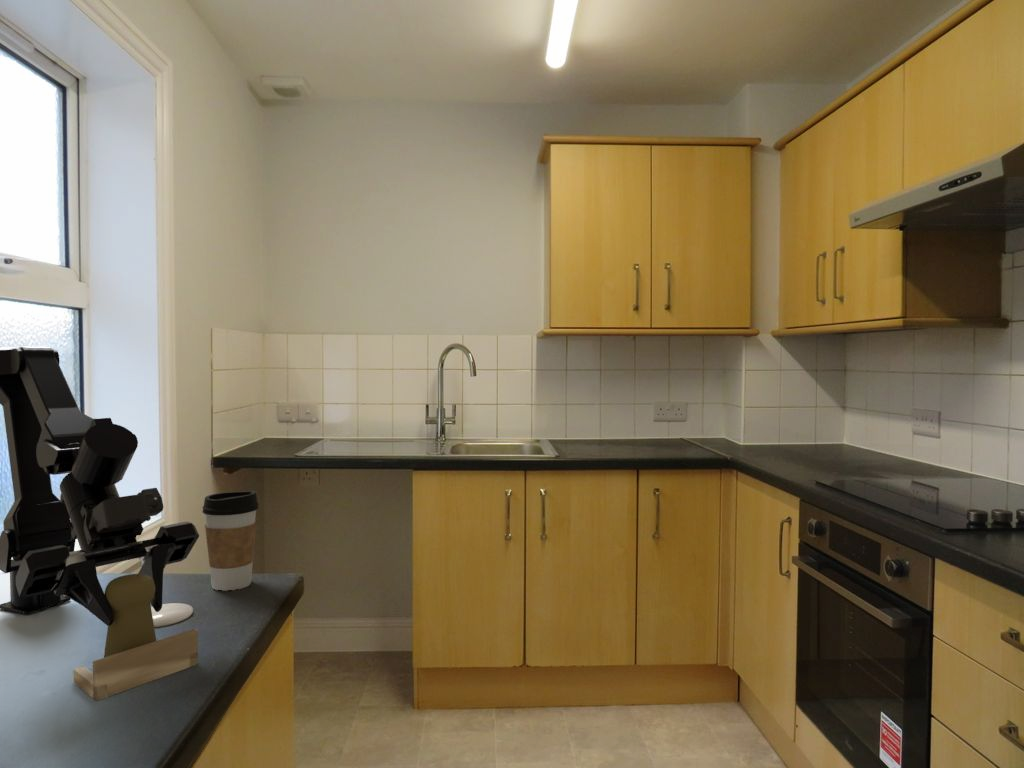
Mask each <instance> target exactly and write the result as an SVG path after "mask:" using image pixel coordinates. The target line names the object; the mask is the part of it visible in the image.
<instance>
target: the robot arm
mask: <svg viewBox="0 0 1024 768" xmlns="http://www.w3.org/2000/svg"><path fill="white" fill-rule="evenodd" d="M0 406H2V410H3V418H4V419H3V420H4V426H5V433H6V441H7V442H6V443H7V451H8V459H9V464H10V465H9V466H10V473H11V474H10V475H11V482H12V488H13V489H12V491H13V497H14V498H13V499H14V500H13V504H11V507H10V509H9V510H8V511H7V514H6V516H5V518H4V520H3V521H2V522H3V530H2V531H1V533H0V571H1V572H2V573H4V574H8V573H9V581H10V582H9V584H10V585H9V589H10V590H9V592H10V600H9V601H7V602H4V603H1V604H0V610H4V611H9V612H14V613H17V614H18V613H19V614H22V615H23V614H24V615H28V614H32V613H35V612H38V611H42V610H44V609H47V608H48V609H49V608H50V607H54V606H57V605H60V604H62V603H65V602H68V601H70V600H72V601H73V602H75V603H77V604H79V605H80V606H82V607H83V608H85V609H86V610H88V611H89V612H90V613H91V614H92V615H93V616H95V617H96V618H97V619H98V620H99V621H101V622H102V623H103V624H104V625H106V626H107V627H108V626H110V625H112V623H113V621H114V619H113V615H112V611H111V608H110V606H109V603H108V601H107V599H106V596H105V591H104V590H103V588H102V585H101V583H100V581H99V578H98V573H97V572H98V571H97V568H99V567H103V566H107V565H112V564H117V563H121V562H125V561H130V560H134V559H135V560H136V559H138V560H139V561H140V564H141V568H140V570H139V571H138V573H137V574H145V575H148V576H150V577H151V578H152V579H153V580H154V584H155V594H154V597H153V598H152V600H151V601H150V605H151V606H152V607H153V608H154V610H155V611H156V612H159V611H160V610H161V608H162V604H163V588H164V570H165V568H166V566H168V565H170V564H175V563H179V562H182V561H184V560H185V559H187V557H188V556H189V555H190V552H191V551H192V549H193V547H194V546H195V545H196V543H197V541H198V539H199V537H200V534H199V532H198V530H197V528H196V526H195V524H193V522H189V521H183V522H182V521H181V522H177V523H172V524H166V525H161V526H160V527H159V529H158V531H157V533H156V534H155V536H154V537H153V538H150V539H145V540H144V539H143V540H140V541H138V540H137V537H138V536H141V535H142V534H143V532H144V527H143V525H142V524H144V523H145V522H146V521H147V522H149V521H150V520H151V519H152V518H151V517H153V516H154V517H155V516H157V515H159V514H160V513H161V512H163V510H164V502H163V498H162V495H161V494H160V492H159V489H158V488H157V487H152V488H145V489H142V490H141V491H140V492H138V493H137V494H133V495H126V496H120V494H119V492H118V490H117V487H116V484H118V483H119V482H121V481H122V480H123V479H124V476H125V474H126V472H127V470H128V468H129V466H130V463H131V461H132V460H133V457H134V455H135V453H136V450H137V448H138V445H139V444H138V443H139V442H138V438H137V436H136V434H134V433H133V432H132V431H131V430H129V429H128V428H127V427H124V426H122V425H120V424H115V423H114V422H113V420H112V418H111V417H97V418H92V417H90V416H89V415H87V414H84V412H82V411H81V409H80V408H79V406H78V403H77V401H76V399H75V397H74V395H73V393H72V390H71V388H70V385H69V384H68V381H67V380H66V377H65V375H64V373H63V371H62V368H61V366H60V355H59V352H58V350H57V349H56V348H51V347H50V346H0ZM63 474H66V475H65V476H64V477H63V478H62V480H61V482H60V483H59V491H60V499H59V498H58V497H57V496H56V495H55V493H53V487H52V480H51V475H54V476H56V475H63ZM76 540H77V542H78V545H79V548H80V549H79V550H75V547H76V546H75V545H76Z"/></svg>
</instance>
